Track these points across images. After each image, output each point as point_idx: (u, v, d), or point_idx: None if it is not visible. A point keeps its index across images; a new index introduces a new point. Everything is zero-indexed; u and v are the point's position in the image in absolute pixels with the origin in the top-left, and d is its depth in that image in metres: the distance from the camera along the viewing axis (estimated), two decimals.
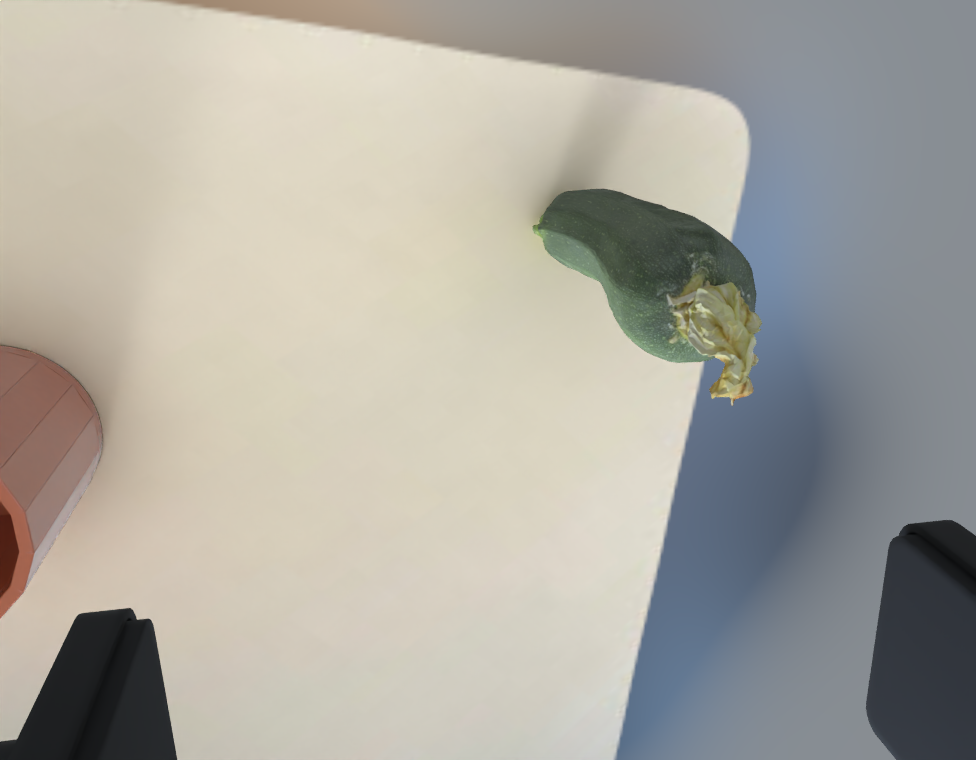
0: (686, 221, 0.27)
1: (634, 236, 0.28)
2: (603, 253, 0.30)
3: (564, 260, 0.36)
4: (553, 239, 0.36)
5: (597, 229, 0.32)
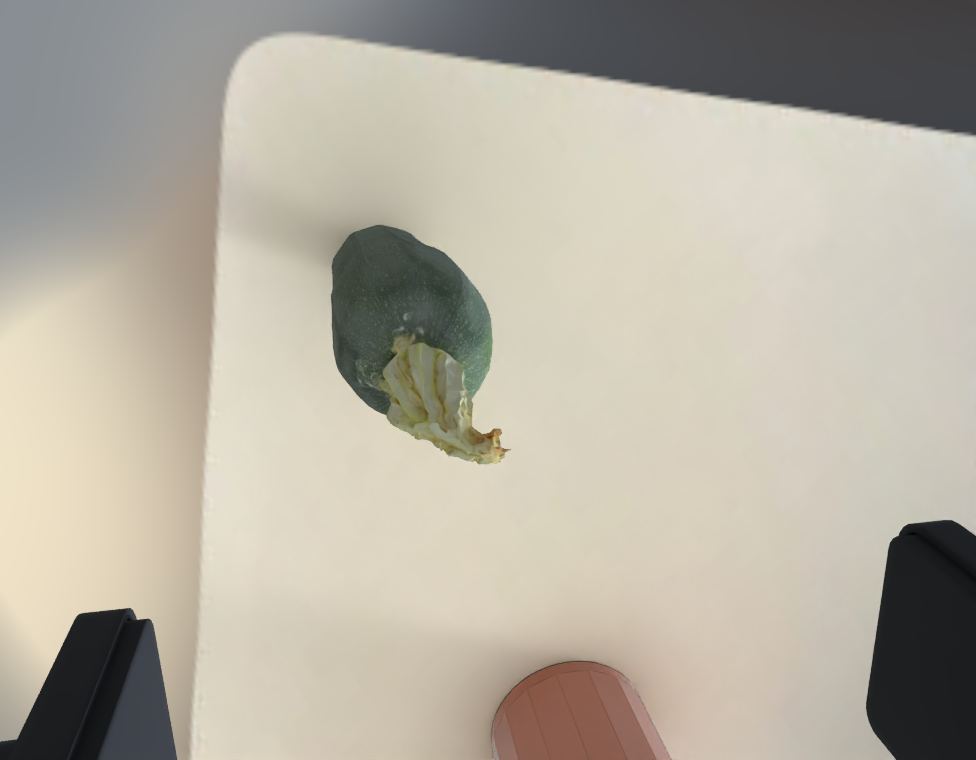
0: (333, 330, 0.24)
1: None
2: None
3: None
4: None
5: None
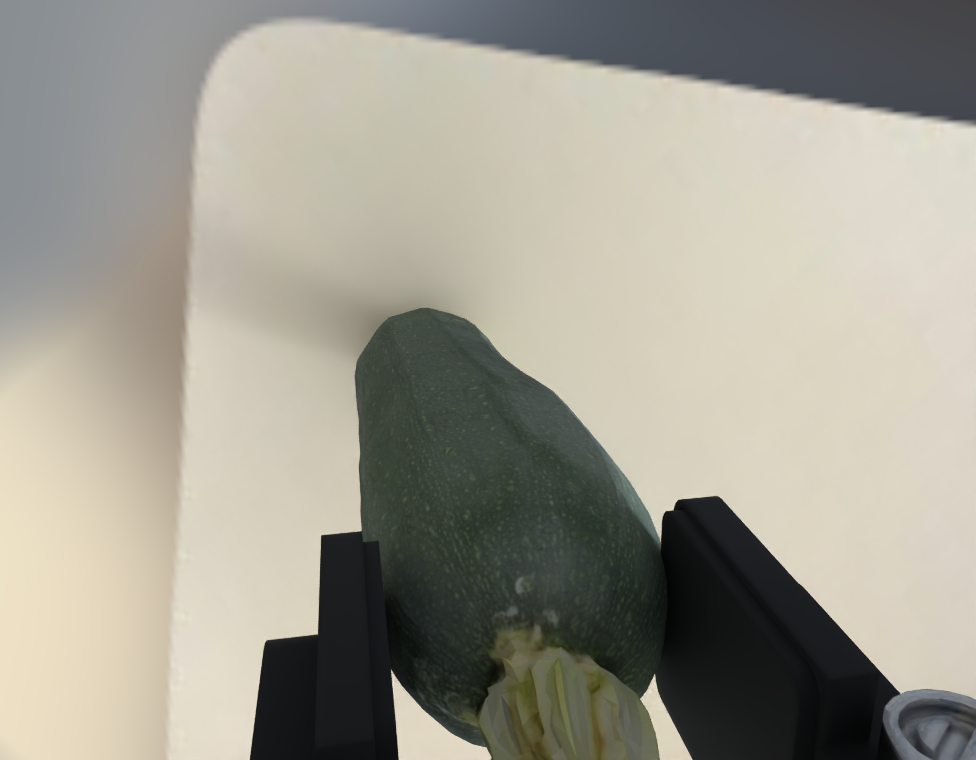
0: None
1: None
2: None
3: None
4: None
5: None
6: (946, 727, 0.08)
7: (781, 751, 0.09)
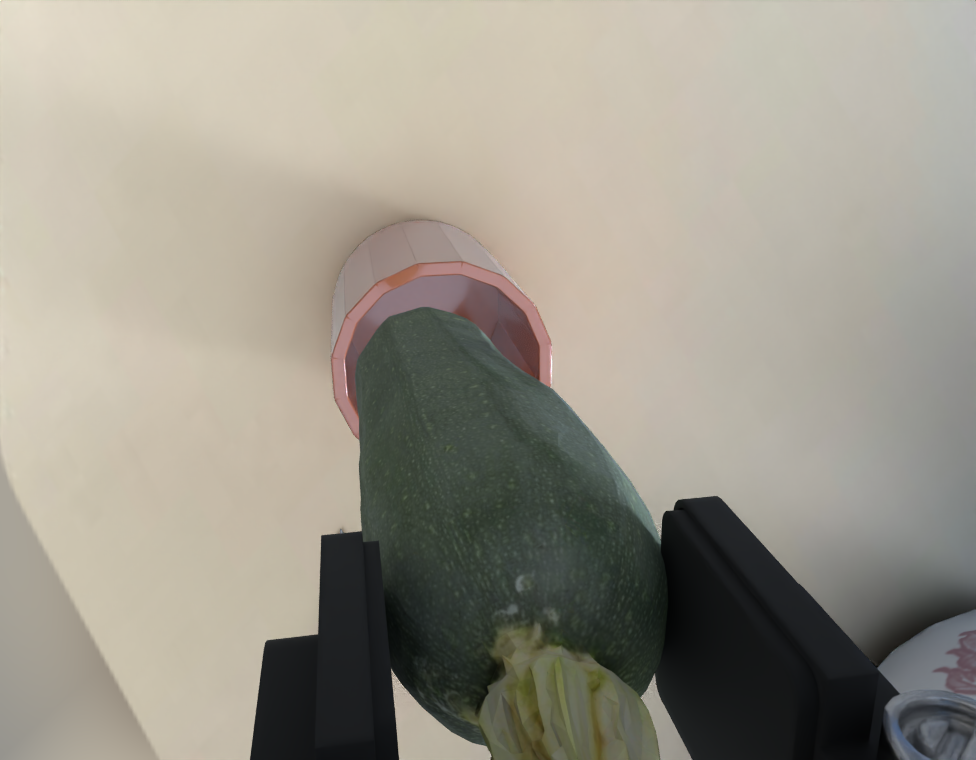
0: None
1: None
2: None
3: None
4: None
5: None
6: (946, 727, 0.08)
7: (781, 751, 0.09)
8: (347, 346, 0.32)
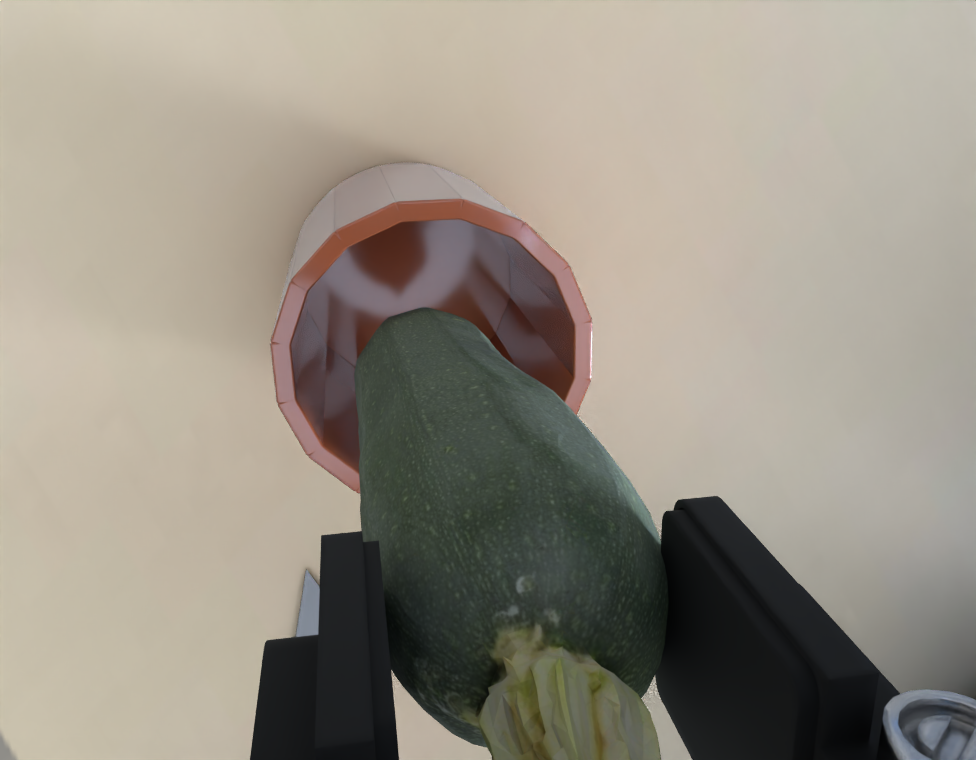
0: None
1: None
2: None
3: None
4: None
5: None
6: (946, 727, 0.08)
7: (781, 751, 0.09)
8: (294, 325, 0.22)
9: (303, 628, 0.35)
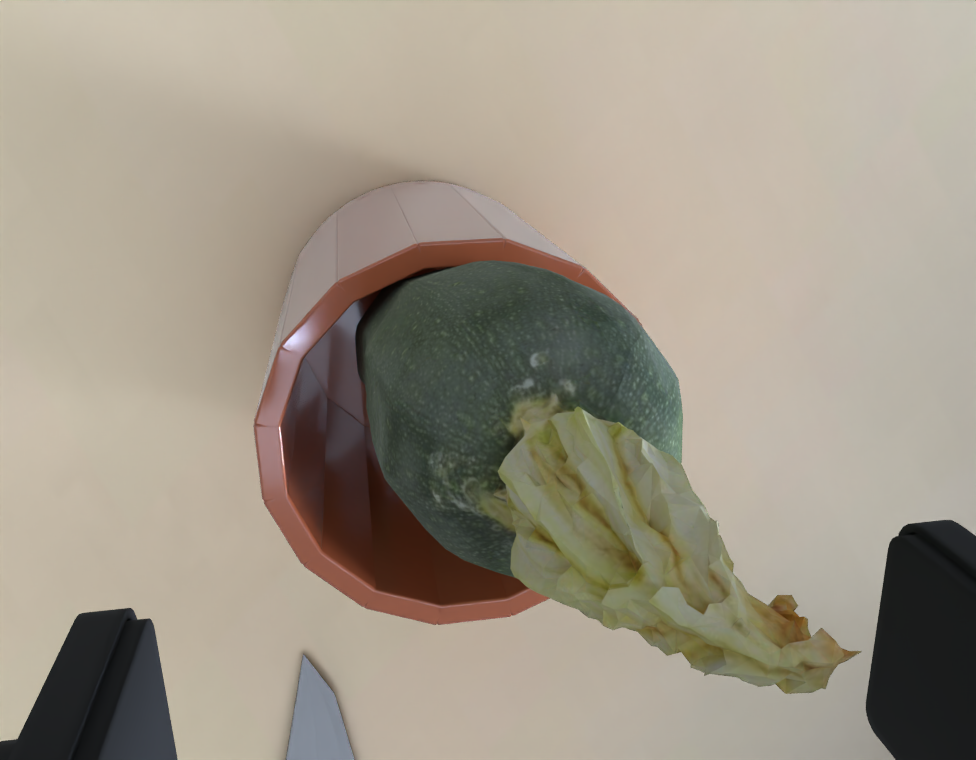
0: (374, 408, 0.13)
1: None
2: None
3: None
4: None
5: None
6: None
7: None
8: (284, 403, 0.17)
9: (299, 721, 0.30)
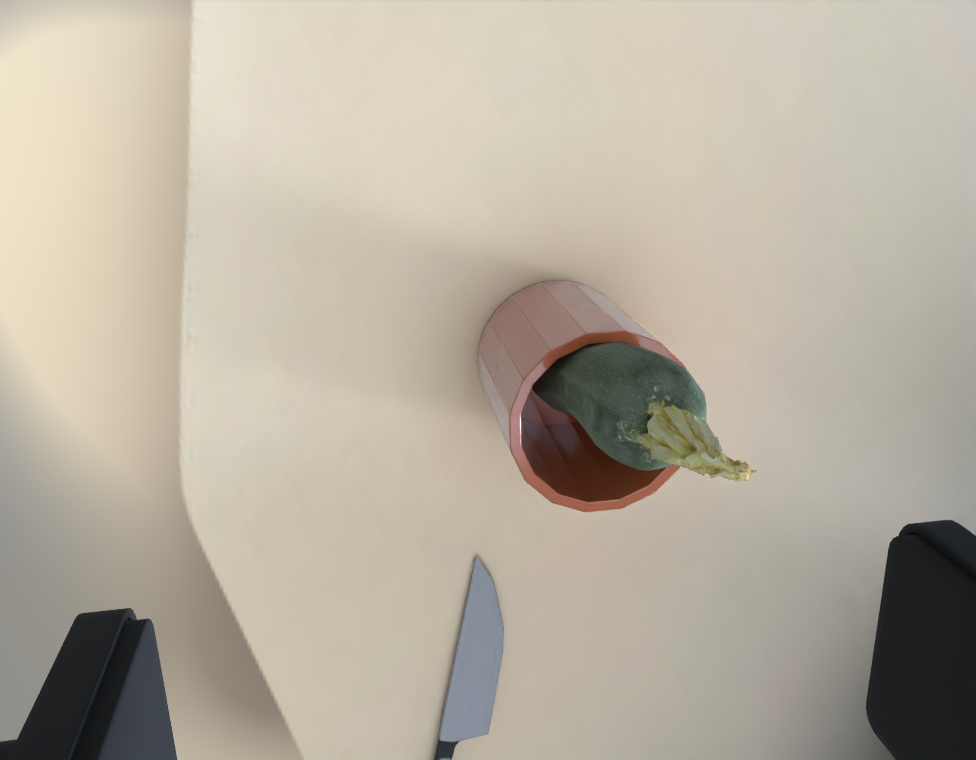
0: (584, 406, 0.33)
1: None
2: None
3: None
4: None
5: None
6: None
7: None
8: (524, 404, 0.36)
9: (472, 597, 0.50)
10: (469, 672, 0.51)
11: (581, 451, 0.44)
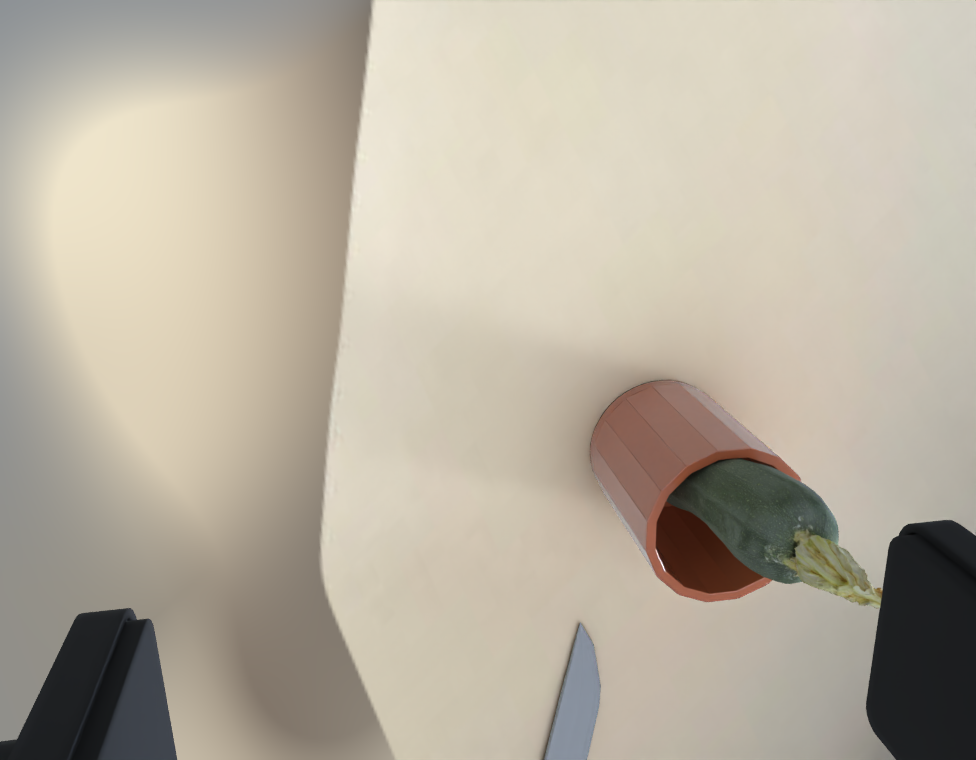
0: (727, 524, 0.38)
1: None
2: None
3: None
4: None
5: None
6: None
7: None
8: (660, 512, 0.41)
9: (575, 659, 0.55)
10: (569, 726, 0.56)
11: (688, 537, 0.49)
